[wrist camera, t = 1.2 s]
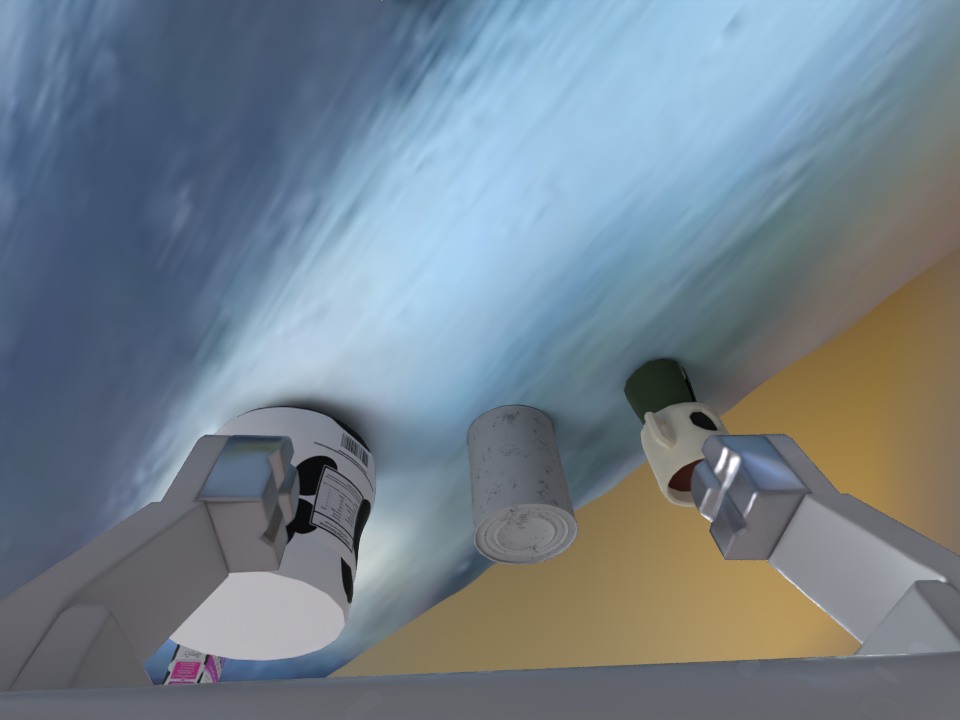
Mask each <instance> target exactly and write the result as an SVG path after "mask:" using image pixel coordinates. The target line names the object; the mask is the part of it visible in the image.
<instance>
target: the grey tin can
mask: <svg viewBox="0 0 960 720" xmlns="http://www.w3.org/2000/svg"><path fill="white" fill-rule="evenodd" d="M467 443H468V446H469V461H470V477H471V492H472V508H473V523H474V544H475V546H476V548H477V550H478V551H479V552H480V553H481V554H482V555H484V556H485V557H487V558H488V559H491V560H493V561H496V562H499V563H504V564H513V565H522V564H532V563H538V562H542V561H545V560H548V559H550V558H553V557H555V556H557V555H559V554H561V553H562V552H564V551H565V550H567V549H568V548H569V547H570V546H571V545H572V544H573V542H574V540H575V539H576V537H577V533H578V525H577V521H576V519H575V516H574V512H573V508H572V504H571V500H570V496H569V492H568V488H567V484H566V480H565V476H564V472H563V468H562V464H561V459H560V455H559V451H558V447H557V443H556V439H555V435H554V428H553V425H552V423H551V421H550V419H549V418H548V417H547V416H546V415H545V414H544V413H542V412H540V411H539V410H537V409H534V408H531V407H528V406H521V405H508V406H503V407H498V408H495V409H493V410H490V411H488V412H486V413H485V414H483V415H481V416H480V417H479V418H478V419H477V420H476V421H475V422H474V423H473V424H472V426H471V427H470V429H469V432H468V437H467Z"/></svg>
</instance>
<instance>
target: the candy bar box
mask: <svg viewBox="0 0 960 720" xmlns="http://www.w3.org/2000/svg"><path fill="white" fill-rule="evenodd" d="M225 659H226V657H220V656H215V655H209V654H204V653H201V652H199V651H196V650H193V649H191V648H188V647H185V646H182V645H180V644H178V645H177V648H176V650H175V653H174V655H173V658H172V660H171V663H170V665H169V668H168V671H167V673H166V676H165V678H164V681H163V683H162V685H165V684H189V683H213V682H218V681H219V678H220V675H221V672H222V669H223V665H224V662H225Z"/></svg>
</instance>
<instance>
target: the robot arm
mask: <svg viewBox="0 0 960 720" xmlns="http://www.w3.org/2000/svg"><path fill="white" fill-rule="evenodd" d="M701 451H702V453H703V455H704V456H705V459H704V460H702V461H701V462H700V463H699V464H697V465H696V466H695V468H694V471H693V474H692V477H691V494H692V497H693V501H694V503H695V505H696V507H697V509H698V511H699V513H700V514H702V515H703V516H705V517H706V518H707V519H709V520H710V521H712V523H711V527H710V533H711V535H712V537H713V539H714V541H715V542H716V544H717V546H718V548H719V550H720V552H721V553H722V555H723V557H724V559H725V560H768V563H769V564H770V565H771V566H772V567H774V568H775V569H776V570H777V571H778V572H779V573H780V574H782V575H783V576H784V577H785V578H786V579H787V580H789V581H790V582H791V583H792V584H793V585H794V586H796V587H797V588H798V589H799V590H800V591H801V592H802V593H804V594H805V595H806V596H807V597H808V598H810V599H811V600H812V601H813V602H814V603H815V604H816V605H818V606H819V607H820V608H821V609H822V610H823V611H825V612H826V613H827V614H828V615H829V616H830V617H832V618H833V619H834V620H835V621H836V622H837V623H839V624H840V625H841V626H842V627H843V628H844V629H845V630H847V631H848V632H849V633H850V634H851V635H853V636H854V637H855V638H856V639H857V640H858V641H859V642H861V643H862V645H861V646H860V647H859V648H858V650H857V651H856V652H855V653H854V654H853V655H852V656H830V657H808V658H784V659H759V660H736V661H712V662H688V663H665V664H641V665H621V666H620V665H618V666H597V667H596V666H595V667H571V668H547V669H524V670H501V671H480V672H479V671H478V672H477V671H476V672H453V673H429V674H405V675H383V676H382V675H381V676H357V677H334V678H309V679H285V680H261V681H237V682H213V683H189V684H165V685H154V684H153V682H152V681H151V679H150V677H149V676H148V674H147V672H146V670H145V669H144V667H143V664H144V663H145V662H146V661H147V660H148V659H149V658H150V657H151V656H152V655H153V654H154V653H155V652H156V651H157V650H158V649H159V648H160V646H161V645H162V644H163V643H164V642H165V641H166V640H167V639H168V638H169V637H170V636H171V635H172V634H173V633H174V632H175V631H176V630H177V629H178V628H179V627H180V626H181V625H182V624H183V623H184V622H185V621H186V620H187V619H188V618H189V617H190V616H191V615H192V613H193V612H194V611H195V610H196V609H197V608H198V607H199V606H200V605H201V604H202V603H203V602H204V601H205V600H206V599H207V598H208V597H209V596H210V595H211V594H212V593H213V592H214V591H215V590H216V589H217V588H218V587H219V586H220V585H221V584H222V583H223V582H224V580H225V579H226V578H227V577H228V576H229V574H228V573H240V572H260V571H279V568H280V564H281V561H282V558H283V554H284V551H285V548H286V545H287V541H288V536H287V531H286V526H287V525H288V524H289V523H290V522H291V521H292V520H294V518H295V514H296V511H297V507H298V500H299V492H300V486H299V475H298V469H297V468H295V467H294V466H293V465H292V464H291V460H292V457H293V454H294V448H293V444H292V440H291V438H290V437H288V436H267V435H233V436H232V435H204V436H203V437H201V438H200V439H199V440H198V441H197V442H196V444H195V446H194V447H193V449H192V451H191V452H190V454H189V456H188V457H187V459H186V461H185V462H184V464H183V466H182V467H181V469H180V471H179V472H178V474H177V476H176V477H175V479H174V481H173V482H172V484H171V486H170V487H169V489H168V491H167V492H166V494H165V496H164V497H163V499H162V501H161V502H151V503H150V504H148V505H147V506H145V507H144V508H142V509H141V510H139V511H138V512H136V513H134V514H133V515H131V516H130V517H128V518H127V519H125V520H124V521H122V522H121V523H119V524H117V525H116V526H114V527H113V528H111V529H110V530H108V531H107V532H105V533H104V534H102V535H101V536H99V537H97V538H96V539H94V540H93V541H91V542H90V543H88V544H87V545H85V546H84V547H82V548H81V549H79V550H77V551H76V552H74V553H73V554H71V555H70V556H68V557H67V558H65V559H64V560H62V561H61V562H59V563H57V564H56V565H54V566H53V567H51V568H50V569H48V570H47V571H45V572H44V573H42V574H41V575H39V576H37V577H36V578H34V579H33V580H31V581H30V582H28V583H27V584H25V585H24V586H22V587H20V588H19V589H17V590H16V591H14V592H13V593H11V594H10V595H8V596H7V597H5V598H4V599H2V600H0V720H960V555H958V554H956V553H954V552H952V551H951V550H949V549H947V548H945V547H943V546H942V545H940V544H938V543H936V542H934V541H932V540H931V539H929V538H927V537H925V536H924V535H922V534H920V533H918V532H916V531H915V530H913V529H911V528H909V527H907V526H906V525H904V524H902V523H900V522H898V521H897V520H895V519H893V518H891V517H889V516H888V515H886V514H884V513H882V512H880V511H878V510H877V509H875V508H873V507H871V506H870V505H868V504H866V503H864V502H862V501H861V500H859V499H857V498H855V497H853V496H852V495H850V494H840V493H839V491H838V490H837V489H836V488H835V487H834V486H833V485H832V483H831V482H830V481H829V480H828V479H827V478H826V477H825V476H824V474H823V473H822V472H821V471H820V470H819V469H818V467H817V466H816V465H815V464H814V463H813V462H812V461H811V460H810V458H809V457H808V456H807V455H806V454H805V453H804V452H803V450H802V449H801V448H800V447H799V446H798V445H797V444H796V442H795V441H794V440H793V439H792V438H791V437H789V436H787V435H785V434H759V435H710V436H709V437H708V438H707V439H706V440H705V442H704V445H703V447H702V449H701Z"/></svg>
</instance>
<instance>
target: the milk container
mask: <svg viewBox="0 0 960 720" xmlns="http://www.w3.org/2000/svg"><path fill="white" fill-rule="evenodd" d="M215 435H232V436H233V435H267V436H288V437H290V438H291V440H292V444H293V448H294V454H293V457H292V460H291V464H292V465H293V466H294V467H295V468H297V469H298V475H299V486H300V492H299V500H298V507H297V511H296V514H295V518H294V520H292V521H291V522H290V523H289V524H288V525H287V526H286V531H287V536H288V541H287V545H286V548H285V551H284V554H283V558H282V561H281V564H280V568H279V571H260V572H240V573H228V574H229V576H228V577H227V578H226V579H225V580H224V582H223V583H222V584H221V585H220V586H219V587H218V588H217V589H216V590H215V591H214V592H213V593H212V594H211V595H210V596H209V597H208V598H207V599H206V600H205V601H204V602H203V603H202V604H201V605H200V606H199V607H198V608H197V609H196V610H195V611H194V612H193V613H192V615H191V616H190V617H189V618H188V619H187V620H186V621H185V622H184V623H183V624H182V625H181V626H180V627H179V628H178V629H177V630H176V631H175V632H174V633H173V634H172V635H171V636H170V637H169V638H170V639H171V640H173V641H174V642H176V643H177V644H180V645H182V646H185V647H188V648H191V649H193V650H196V651H199V652H201V653H204V654H209V655H215V656H220V657H226V658H231V659H242V660H274V659H283V658H292V657H297V656H301V655H304V654H307V653H311V652H314V651H317V650H320V649H322V648H323V647H325V646H326V645H328V644H330V643H331V642H333V641H334V640H336V639H337V638H338V636H339V634H340V633H341V631H342V630H343V628H344V626H345V624H346V621H347V618H348V615H349V611H350V607H351V603H352V597H353V583H354V581H355V577H356V570H357V560H358V550H359V542H360V537H361V534H362V531H363V529H364V526H365V524H366V522H367V520H368V518H369V515H370V513H371V510H372V507H373V504H374V500H375V493H376V473H375V466H374V460H373V457H372V455H371V452H370V450H369V449H368V447H367V446H366V444H365V442H364V441H363V439H362V438H361V437H360V436H359V435H358V434H357V433H356V432H355V431H354V430H352V429H351V428H350V427H349V426H347V425H346V424H345V423H343V422H341V421H340V420H338V419H336V418H334V417H331V416H329V415H326V414H324V413H321V412H318V411H315V410H311V409H305V408H298V407H290V406H276V407H267V408H260V409H255V410H252V411H249V412H247V413H244V414H242V415H240V416H238V417H236V418H234V419H232V420H231V421H229V422H227V423H226V424H225V425H224V426H222V427H221V428H220V429H219V430H218V431H217V433H216V434H215Z"/></svg>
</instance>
